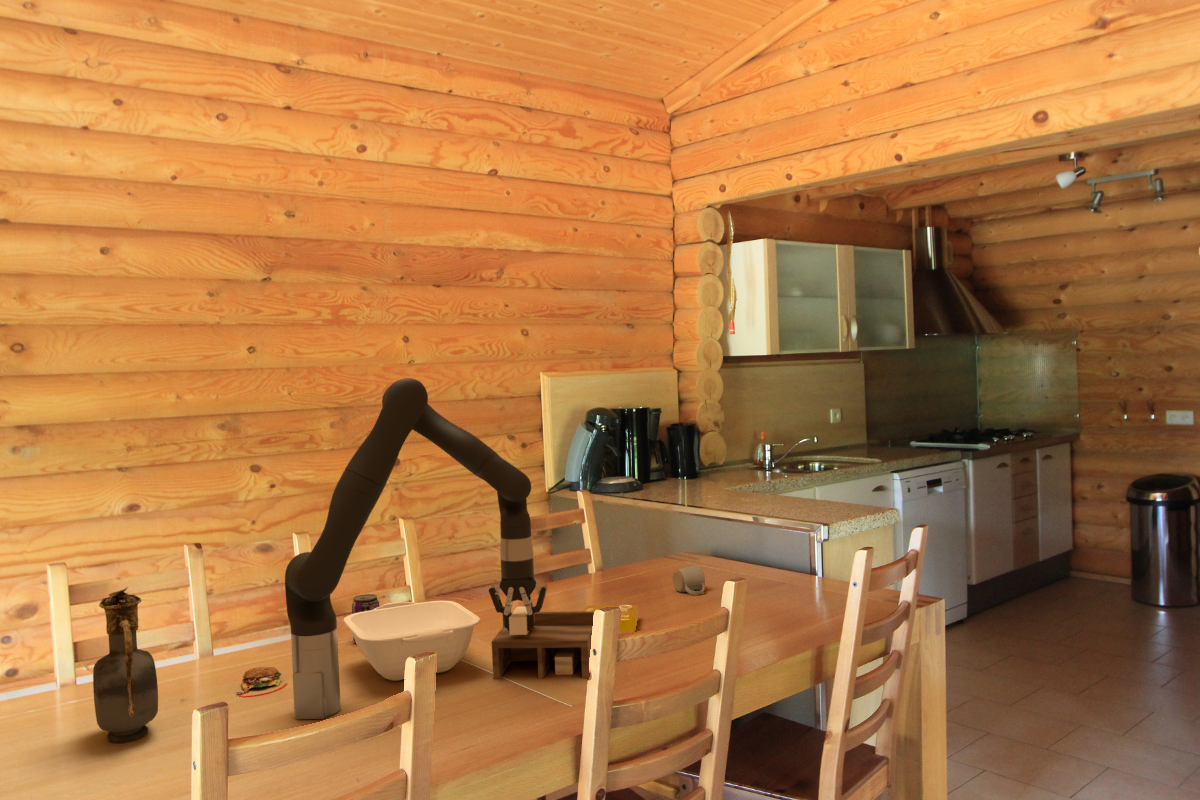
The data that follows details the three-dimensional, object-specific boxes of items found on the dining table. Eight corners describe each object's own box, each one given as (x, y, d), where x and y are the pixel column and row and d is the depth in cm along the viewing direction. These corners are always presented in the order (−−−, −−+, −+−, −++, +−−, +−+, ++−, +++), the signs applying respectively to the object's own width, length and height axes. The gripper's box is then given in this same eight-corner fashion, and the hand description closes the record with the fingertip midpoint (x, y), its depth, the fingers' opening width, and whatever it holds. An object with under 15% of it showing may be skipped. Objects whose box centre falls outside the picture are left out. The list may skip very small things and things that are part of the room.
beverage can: (373, 645, 234) (371, 600, 234) (348, 645, 236) (346, 600, 235) (385, 637, 241) (383, 593, 241) (361, 637, 243) (359, 593, 242)
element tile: (585, 620, 252) (585, 603, 252) (638, 619, 251) (638, 602, 250) (579, 635, 237) (578, 618, 237) (635, 635, 236) (634, 617, 236)
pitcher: (153, 717, 188) (145, 575, 188) (165, 746, 172) (157, 592, 172) (93, 730, 182) (85, 584, 182) (101, 761, 166) (92, 601, 166)
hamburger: (223, 685, 209) (222, 659, 209) (286, 675, 215) (285, 650, 215) (223, 703, 196) (222, 676, 196) (290, 692, 202) (289, 665, 202)
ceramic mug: (671, 590, 282) (670, 566, 281) (693, 586, 285) (692, 562, 285) (688, 597, 272) (687, 572, 272) (711, 594, 276) (710, 569, 275)
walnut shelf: (588, 678, 202) (586, 627, 202) (493, 678, 204) (491, 628, 204) (595, 658, 216) (593, 611, 216) (505, 659, 218) (503, 612, 218)
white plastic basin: (494, 678, 205) (491, 623, 204) (369, 703, 192) (366, 644, 192) (449, 641, 235) (447, 593, 235) (338, 661, 222) (336, 610, 222)
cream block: (526, 634, 205) (526, 617, 205) (509, 634, 205) (508, 617, 205) (534, 622, 215) (533, 606, 215) (518, 623, 215) (517, 606, 215)
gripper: (482, 560, 204) (486, 635, 204) (544, 559, 202) (547, 634, 203) (490, 553, 211) (493, 626, 211) (549, 552, 210) (552, 625, 210)
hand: (519, 629), depth 207 cm, fingers closed on cream block, 4 cm apart
